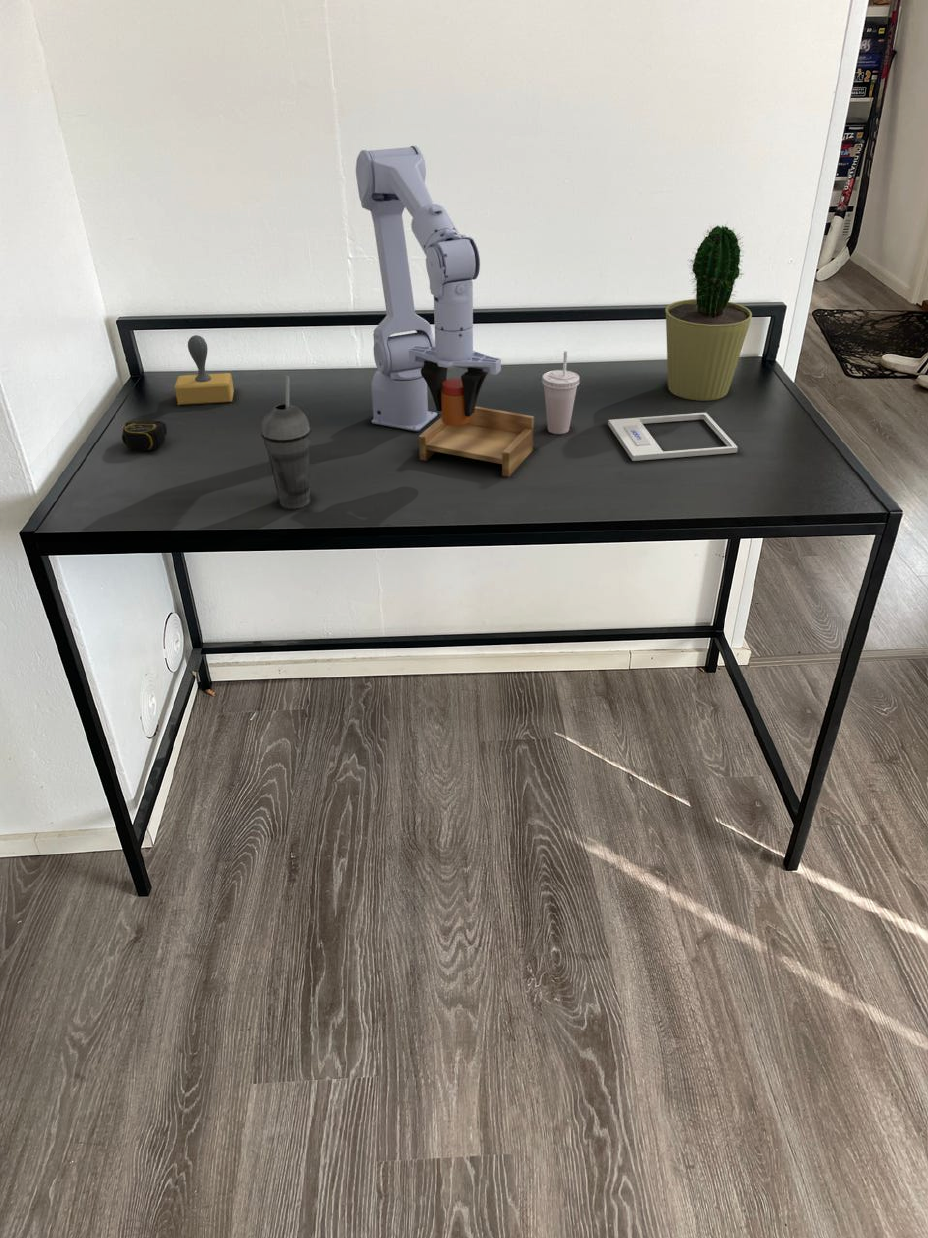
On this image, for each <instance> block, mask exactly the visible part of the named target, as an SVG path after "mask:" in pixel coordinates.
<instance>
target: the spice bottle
mask: <svg viewBox="0 0 928 1238" xmlns="http://www.w3.org/2000/svg"><path fill="white" fill-rule="evenodd" d="M464 406H465V397H464V389H463V384H462V380H461V378H449V379H446V380H445V381H444V382H443V383H442V390H441V417H442V422H443V423H445V424H447V425H454V426H457V425H463V424H466V423H468V422H469V420H470V417H468V416H465V411H464Z"/></svg>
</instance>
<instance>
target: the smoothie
mask: <svg viewBox="0 0 928 1238" xmlns="http://www.w3.org/2000/svg"><path fill="white" fill-rule="evenodd" d="M567 364H568V351H567V350H564V351H563V361H562V369H554V370H550V371H548V372H545V373H544V374H543V375H542V379H541V383H542V385H543V389H544V391H543V392H544V402H545V412H546V413H545V414H546V424H547V431H548V432H549V433H551V434H553V435H564V434H566V433H568V432H569V431H570V427H571V422H572V416H573V411H574V405H575V399H576V395H577V390H578V389H577V388H578V386H579V385H580V375H579V374H578V373H576V372H573V371H570V370H567Z"/></svg>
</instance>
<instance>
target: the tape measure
mask: <svg viewBox="0 0 928 1238" xmlns="http://www.w3.org/2000/svg"><path fill="white" fill-rule="evenodd" d="M167 433H168V429H167V425H166V423H165V422H163V421H159V420H142V421H141V420H140V421H128V422H125V424H124V427H123V428H122V434H121V441H122V443H123V444H124V445H126V447H127V448H128V449H130V450H134V451H152V450H153V449H156V448H158V447H161V446H163V444H164V443H165V442H166V435H167Z"/></svg>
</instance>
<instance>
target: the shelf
mask: <svg viewBox="0 0 928 1238" xmlns="http://www.w3.org/2000/svg"><path fill="white" fill-rule="evenodd" d="M534 424H535V416H534V415H528V414H522V413H517V412H510V411H506V410H499V409H495V408H487V407H482V406H477V405H475V411H474V413H473V414H472V415H471V416H470V420H469V422H468V423H466V424H463V425H457V426H454V425H447V424H445V423H443V422H442V416H440V418H438V419H437V420H436V421H435V422H434V423H433V424H431V425H430V426H429V427H428V428H426V429H425V430H424V431H423V432H422V433H420V435H418V448H419V450H418V451H419V460H421V461H428V460H429V459H430V458H431V457H432V456H433V455H434V454H435V453H442V454H447V455H451V456H452V455H453V456H457V457H461V458H468V459H473V460H478V461H482V462H488V463H494V464H497V465H498V464H499V465H501V476H502V477H506V478H510V476H511V475H512V474H513V473H514V472H515V471H516V470H517V468H519V467H520V466H521V464H522V463H523V462H524V461H525V460H526V459H527V458H528V457H529V455H530V454H531V453H532V452H533V451H534V428H535V427H534Z"/></svg>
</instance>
